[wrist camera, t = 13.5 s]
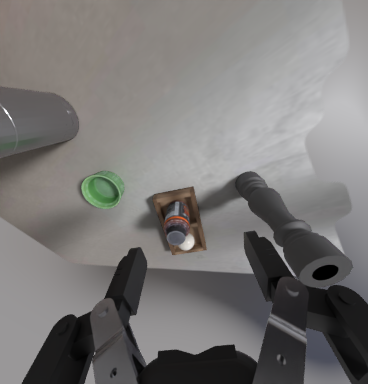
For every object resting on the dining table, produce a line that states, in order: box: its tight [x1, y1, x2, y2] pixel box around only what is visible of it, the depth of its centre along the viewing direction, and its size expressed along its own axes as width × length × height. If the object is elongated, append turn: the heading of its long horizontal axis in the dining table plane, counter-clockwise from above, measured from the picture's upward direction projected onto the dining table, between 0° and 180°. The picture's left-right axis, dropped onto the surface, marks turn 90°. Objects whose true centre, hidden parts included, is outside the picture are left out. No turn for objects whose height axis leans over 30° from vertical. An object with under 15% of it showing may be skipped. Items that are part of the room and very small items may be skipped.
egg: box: [178, 233, 195, 251], centre depth 45 cm, size 5×5×5 cm
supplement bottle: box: [164, 200, 190, 245], centre depth 38 cm, size 6×6×11 cm
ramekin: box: [81, 171, 124, 209], centre depth 39 cm, size 9×9×4 cm
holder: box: [153, 187, 207, 255], centre depth 44 cm, size 10×20×3 cm, turn 13°
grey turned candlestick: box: [236, 171, 353, 288], centre depth 29 cm, size 6×6×25 cm
